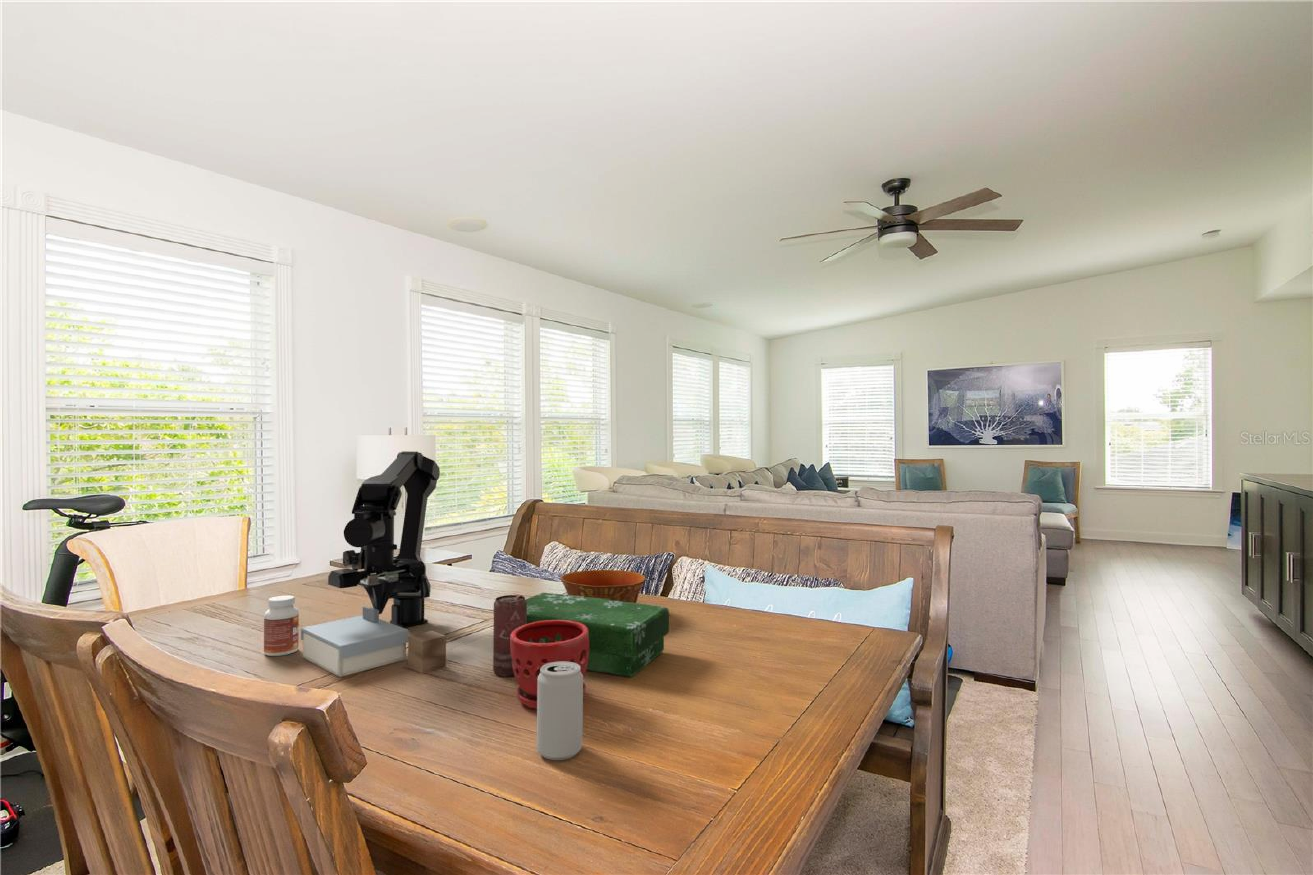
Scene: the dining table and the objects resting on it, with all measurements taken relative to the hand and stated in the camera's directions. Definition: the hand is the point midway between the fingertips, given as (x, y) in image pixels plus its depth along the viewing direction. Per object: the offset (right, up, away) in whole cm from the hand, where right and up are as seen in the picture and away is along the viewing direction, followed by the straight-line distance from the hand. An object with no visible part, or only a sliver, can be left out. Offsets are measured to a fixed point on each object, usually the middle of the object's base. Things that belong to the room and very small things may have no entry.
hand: (378, 614), depth 138 cm
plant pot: (+40, -8, -27) cm, 49 cm away
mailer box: (-2, -7, -7) cm, 10 cm away
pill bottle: (-18, -7, -4) cm, 20 cm away
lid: (-2, -3, -7) cm, 8 cm away
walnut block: (+14, -7, -12) cm, 20 cm away
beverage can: (+45, -8, -45) cm, 64 cm away
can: (+31, -7, -14) cm, 34 cm away
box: (+43, -8, -4) cm, 44 cm away
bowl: (+45, -8, +25) cm, 52 cm away
